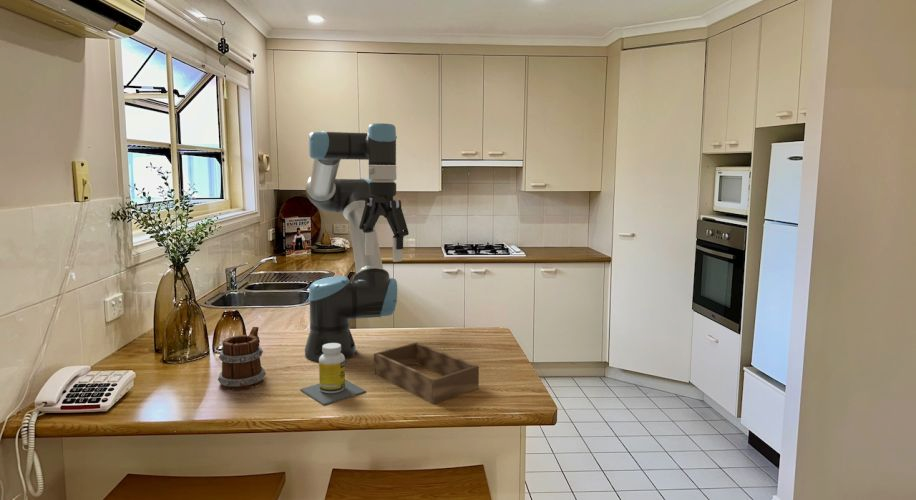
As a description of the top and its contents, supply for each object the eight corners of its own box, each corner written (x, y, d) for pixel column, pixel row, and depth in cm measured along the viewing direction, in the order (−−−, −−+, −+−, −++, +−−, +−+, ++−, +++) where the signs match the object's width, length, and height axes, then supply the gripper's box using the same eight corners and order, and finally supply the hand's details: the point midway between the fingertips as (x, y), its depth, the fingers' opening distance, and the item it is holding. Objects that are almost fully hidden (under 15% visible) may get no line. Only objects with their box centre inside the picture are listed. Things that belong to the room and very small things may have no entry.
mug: (206, 390, 140) (209, 331, 141) (235, 379, 154) (237, 325, 155) (250, 393, 139) (252, 333, 139) (275, 381, 153) (277, 327, 154)
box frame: (374, 374, 153) (373, 353, 152) (416, 361, 163) (416, 342, 162) (434, 404, 134) (434, 380, 133) (478, 388, 144) (478, 366, 143)
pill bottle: (339, 395, 138) (338, 350, 136) (315, 393, 139) (314, 348, 137) (349, 385, 144) (348, 342, 142) (325, 383, 145) (325, 340, 143)
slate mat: (300, 390, 142) (300, 388, 142) (341, 378, 150) (341, 377, 150) (323, 405, 133) (323, 403, 133) (366, 392, 141) (365, 390, 141)
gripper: (346, 180, 158) (347, 253, 161) (398, 182, 140) (398, 265, 143) (368, 180, 163) (369, 251, 166) (421, 182, 145) (421, 262, 148)
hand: (383, 258), depth 154 cm, fingers open, 13 cm apart
